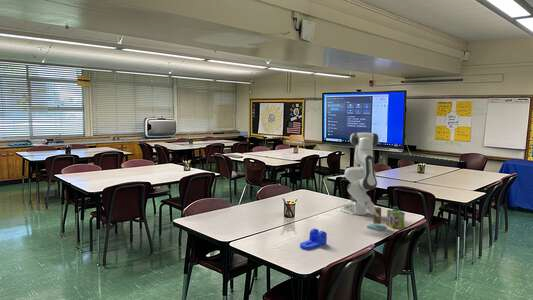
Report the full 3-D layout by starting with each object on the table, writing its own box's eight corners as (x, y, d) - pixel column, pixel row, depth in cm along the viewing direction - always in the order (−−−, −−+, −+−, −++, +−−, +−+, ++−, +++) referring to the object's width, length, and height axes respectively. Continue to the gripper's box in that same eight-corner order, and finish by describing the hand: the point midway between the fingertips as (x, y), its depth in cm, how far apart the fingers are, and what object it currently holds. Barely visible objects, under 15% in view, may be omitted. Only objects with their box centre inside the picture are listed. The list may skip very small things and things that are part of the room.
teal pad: (366, 227, 258) (366, 225, 257) (373, 225, 264) (373, 223, 264) (379, 230, 250) (379, 228, 250) (386, 228, 257) (386, 226, 257)
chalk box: (393, 228, 256) (394, 208, 255) (386, 225, 265) (386, 205, 264) (404, 227, 259) (405, 208, 257) (396, 224, 267) (397, 205, 266)
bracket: (316, 240, 229) (316, 227, 228) (326, 244, 223) (326, 230, 222) (297, 247, 217) (297, 233, 217) (307, 251, 211) (307, 236, 210)
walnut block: (373, 223, 255) (374, 208, 254) (373, 221, 260) (373, 206, 259) (380, 223, 254) (381, 209, 253) (380, 222, 259) (380, 207, 258)
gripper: (368, 201, 247) (382, 215, 245) (367, 195, 267) (380, 208, 265) (361, 206, 248) (375, 221, 247) (361, 200, 268) (373, 214, 267)
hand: (378, 214), depth 256 cm, fingers closed on walnut block, 5 cm apart
